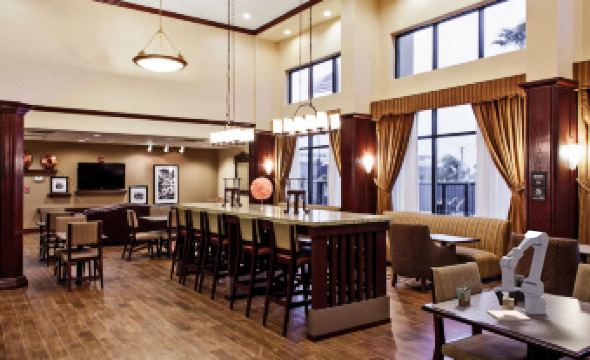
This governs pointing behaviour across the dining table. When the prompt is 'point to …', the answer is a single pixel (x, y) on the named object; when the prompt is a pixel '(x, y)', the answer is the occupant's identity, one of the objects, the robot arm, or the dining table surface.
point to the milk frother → (518, 286)
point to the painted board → (509, 316)
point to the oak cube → (508, 303)
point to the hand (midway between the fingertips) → (508, 305)
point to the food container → (464, 295)
